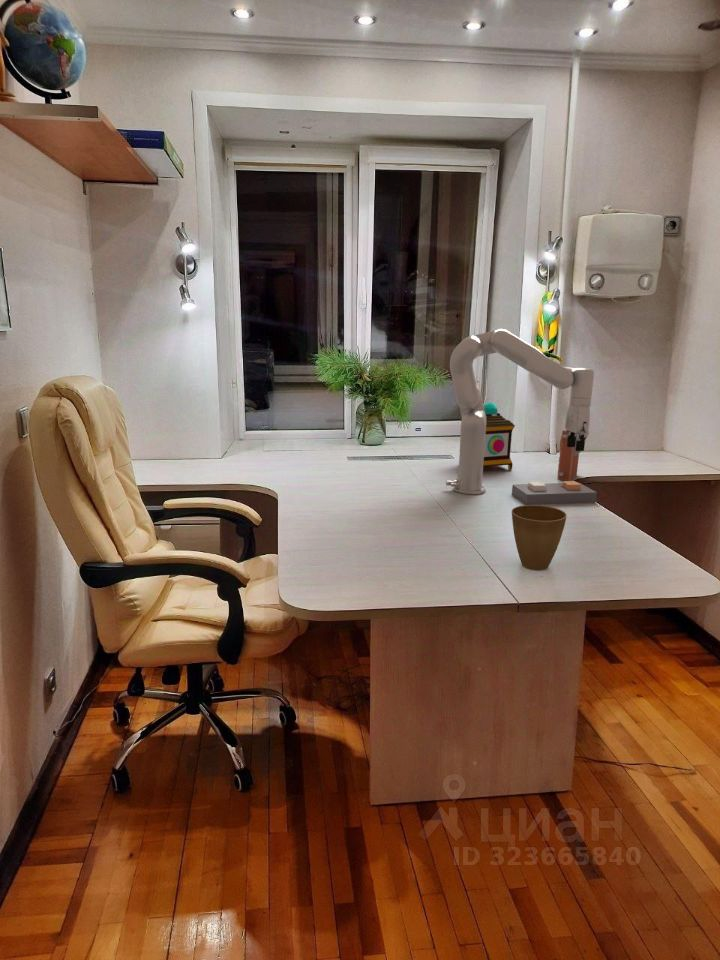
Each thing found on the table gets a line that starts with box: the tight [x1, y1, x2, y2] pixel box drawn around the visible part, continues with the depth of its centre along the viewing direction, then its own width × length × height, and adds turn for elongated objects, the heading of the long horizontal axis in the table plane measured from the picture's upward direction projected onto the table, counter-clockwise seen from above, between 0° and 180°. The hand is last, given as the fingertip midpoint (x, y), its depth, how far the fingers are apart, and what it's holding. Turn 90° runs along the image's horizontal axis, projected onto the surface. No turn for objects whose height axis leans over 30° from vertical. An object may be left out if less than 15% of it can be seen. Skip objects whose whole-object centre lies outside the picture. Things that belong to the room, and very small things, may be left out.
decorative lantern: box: [483, 401, 516, 471], centre depth 295 cm, size 20×20×30 cm
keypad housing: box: [511, 482, 598, 505], centre depth 253 cm, size 28×14×4 cm, turn 100°
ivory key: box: [527, 481, 546, 491], centre depth 251 cm, size 5×5×3 cm
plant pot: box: [511, 504, 568, 571], centre depth 185 cm, size 15×15×16 cm
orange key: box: [561, 480, 582, 490], centre depth 253 cm, size 5×5×3 cm
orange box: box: [556, 427, 582, 481], centre depth 282 cm, size 21×7×15 cm
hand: (575, 448), depth 249 cm, fingers open, 6 cm apart
